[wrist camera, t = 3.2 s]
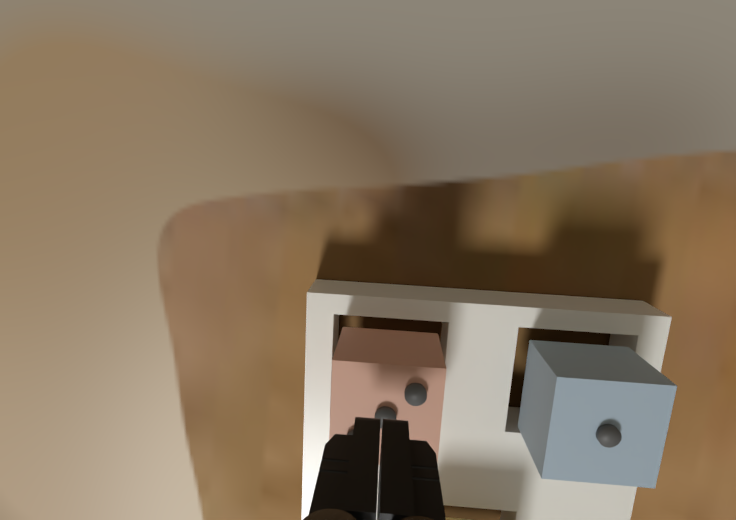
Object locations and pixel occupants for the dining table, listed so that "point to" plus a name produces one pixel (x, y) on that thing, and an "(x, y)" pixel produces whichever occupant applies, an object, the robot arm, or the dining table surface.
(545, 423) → the tile one
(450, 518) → the tile two
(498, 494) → the tile board
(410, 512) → the robot arm
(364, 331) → the tile three
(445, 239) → the dining table surface
